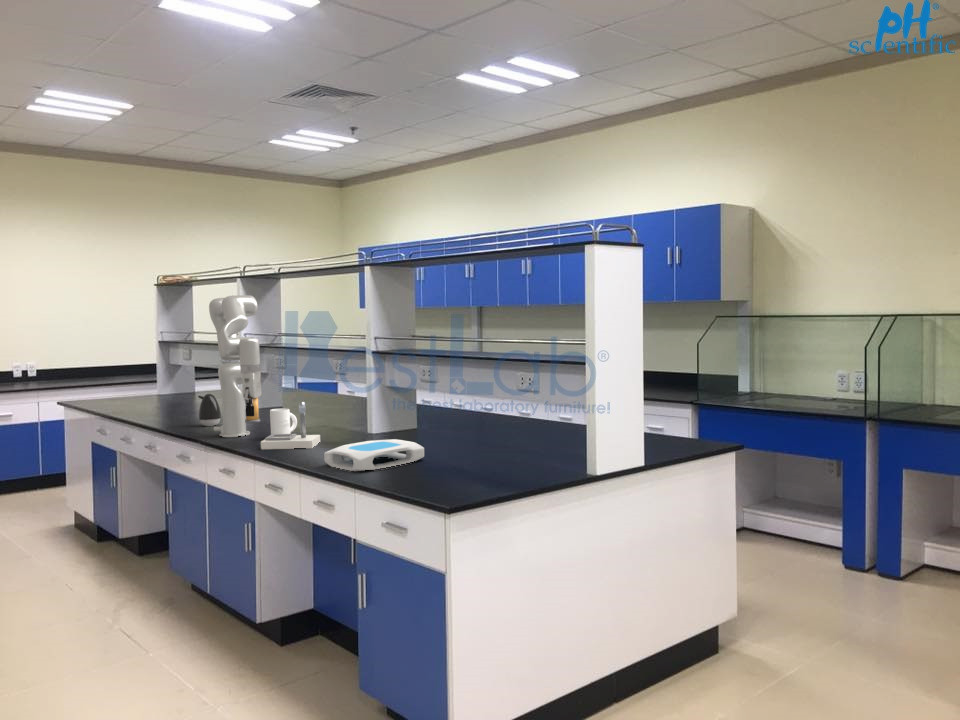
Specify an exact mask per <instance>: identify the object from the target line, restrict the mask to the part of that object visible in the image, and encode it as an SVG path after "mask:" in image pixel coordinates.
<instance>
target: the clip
mask: <svg viewBox="0 0 960 720" xmlns="http://www.w3.org/2000/svg"><path fill="white" fill-rule="evenodd" d="M306 407H307V406H306V403H305V401H299V404H298V414H299V422H300V435H301V438H304V437H306V435H307V425H306V424H307V423H306V414H307V412H306V411H307V410H306V409H307V408H306Z"/></svg>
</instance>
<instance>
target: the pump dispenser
mask: <svg viewBox="0 0 960 720" xmlns="http://www.w3.org/2000/svg"><path fill="white" fill-rule="evenodd" d="M198 398H199V399H201V401H200V404H199V410H198V420H199V423H200V424H201V426H203V425H204V427H213V426H212V425H216V426H217V425H218V424H219V423H220V422H221V419H222V411H221V408H220V407H221V406H220V404H219V402H218V400H217V398H216V396H215V395H214V394H212V393H206V394H205V395H203V396H202V395H201V394H200V395H198Z"/></svg>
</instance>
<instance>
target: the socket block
mask: <svg viewBox="0 0 960 720" xmlns="http://www.w3.org/2000/svg"><path fill="white" fill-rule="evenodd" d="M319 442H320V443H321V434H306V437H304V438H301V434H297V433H290V434H271V433H270V435H268V436H266V437H265V438H264V439H263V440H261V441H260V450H292V449H293V450H295V449H294V448H306V449H313V447H314V446H315V447H317V446H318V443H319ZM320 443H319V444H320ZM315 447H314V448H315Z"/></svg>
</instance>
